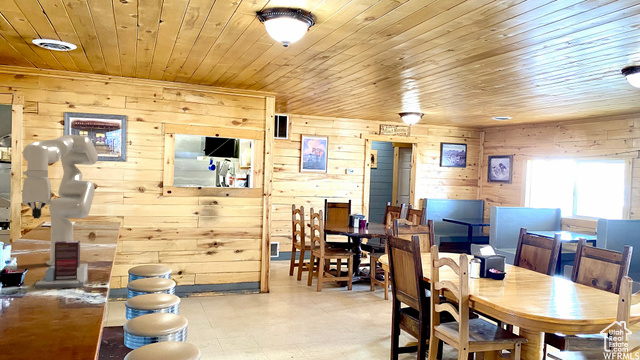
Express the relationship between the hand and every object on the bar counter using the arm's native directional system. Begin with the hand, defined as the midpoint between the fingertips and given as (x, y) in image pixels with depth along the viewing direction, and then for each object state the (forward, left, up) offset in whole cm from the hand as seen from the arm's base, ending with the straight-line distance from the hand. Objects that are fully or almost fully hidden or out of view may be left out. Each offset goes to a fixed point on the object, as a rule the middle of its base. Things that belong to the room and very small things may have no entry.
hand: (36, 218), depth 200 cm
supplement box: (+14, +15, -24) cm, 31 cm away
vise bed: (+14, +13, -25) cm, 32 cm away
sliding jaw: (+10, +9, -24) cm, 27 cm away
